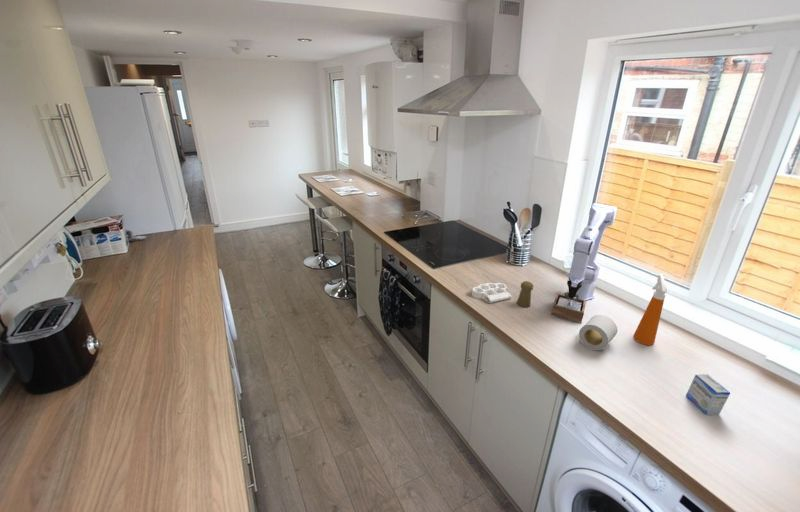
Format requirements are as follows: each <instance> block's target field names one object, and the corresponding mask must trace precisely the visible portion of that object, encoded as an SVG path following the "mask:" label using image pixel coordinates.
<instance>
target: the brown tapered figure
mask: <svg viewBox="0 0 800 512" xmlns="http://www.w3.org/2000/svg"><path fill="white" fill-rule="evenodd" d="M533 289H534V284H533V283H532V282H531V281H528V280H527V281H522V282H521V284H520V291H519V295H518V298H517V300H516V305H517V307H520V308H524V309H528V308H530V307H531V303H532V302H531V299H532V290H533Z"/></svg>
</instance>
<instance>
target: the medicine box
mask: <svg viewBox="0 0 800 512" xmlns="http://www.w3.org/2000/svg"><path fill="white" fill-rule="evenodd" d="M730 395H731V392H730V391H729V390H728V389H726V388H725V387H724V386H722V384H720V383H719V382H717V380H715V379H714V378H713V377H712V376H710V375H709V374H707V373H705V374H704V373H702V374H701V373H700V374H695V375H694V377H693V379H692V381H691V383H690V386H689V388H688V390H687V391H686V394H685V396H686V398H687V399H688V400H690V401H691V402H692V403H693V404H694V405H695V406H697V408H699V409H700V410H701V411H702V412H703V413H704V414H705V415H706V416H709V415H711V416H712V415H713V416H714V415H720V414H721V413H722V410H723V409H724V406H725V405H726V403H727V400H728V399H729V397H730Z"/></svg>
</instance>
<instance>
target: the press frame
mask: <svg viewBox="0 0 800 512" xmlns="http://www.w3.org/2000/svg"><path fill="white" fill-rule="evenodd" d="M560 297H562V298H566V297H565V296H564V294H561V293H556V296H555V298H554V301H553V305H552V308H551V313H550V316H553V317H557V318H561V319H563V320H567V321H572V322H575V323H579V324H582V321H583V318H584V315H585V309H586V304H587V300H582V299H578V300H574V301H578V302H582V304H581V309H580V311H578V310H574V309H570V308H566V307H562V306H559V305H557V304H558V301H559V298H560ZM566 299H567V298H566Z"/></svg>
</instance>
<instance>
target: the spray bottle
mask: <svg viewBox="0 0 800 512" xmlns="http://www.w3.org/2000/svg"><path fill="white" fill-rule="evenodd" d="M664 276H665V275H663V274H662V273H658V275H657V277H658V278H657V282H656V283H655V285H654V286H653V287H652V289H651V290H655V291H654V292H653V294H652V296H651V298H650V301H649V303H648V304H647V307H646V309H645V311H644V313H643V315H642V317H641V319H640V321H639V323H638V325H637V327H636V329H635V331H634V333H633V334H632V335H633V336H632V337H633V338H634V340H635V341H636V342H638V343H640V344H642V345H646V346H652V345H654V344H655V342H656V337H657V333H658V328H659V325H660V319H661V315H662V312H663V311H662V310H663V306H664V303H665V298H666V296H667V294H666V293H667V292H668V288H667V287H668V286H667V283H666V280H665V277H664Z"/></svg>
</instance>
